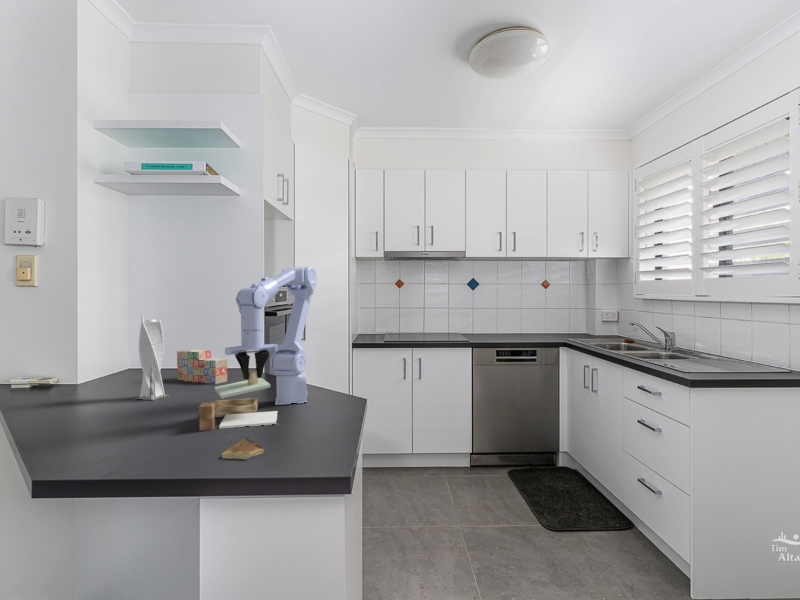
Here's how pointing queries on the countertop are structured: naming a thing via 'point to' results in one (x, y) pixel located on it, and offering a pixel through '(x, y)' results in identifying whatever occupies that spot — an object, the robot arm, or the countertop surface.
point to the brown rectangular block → (207, 415)
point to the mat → (249, 419)
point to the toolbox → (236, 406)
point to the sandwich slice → (243, 450)
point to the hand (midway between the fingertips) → (252, 378)
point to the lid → (243, 386)
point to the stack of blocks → (201, 367)
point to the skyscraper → (151, 359)
